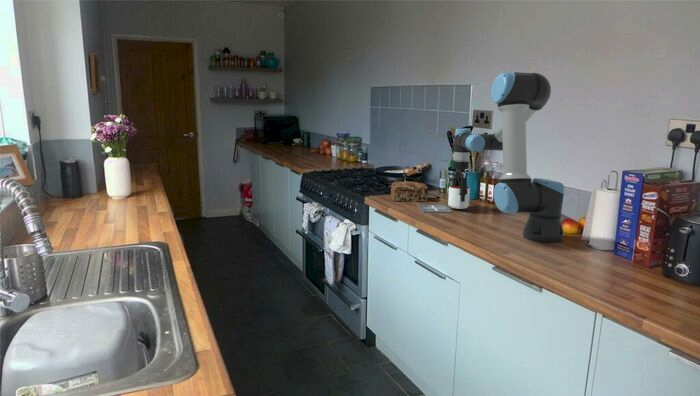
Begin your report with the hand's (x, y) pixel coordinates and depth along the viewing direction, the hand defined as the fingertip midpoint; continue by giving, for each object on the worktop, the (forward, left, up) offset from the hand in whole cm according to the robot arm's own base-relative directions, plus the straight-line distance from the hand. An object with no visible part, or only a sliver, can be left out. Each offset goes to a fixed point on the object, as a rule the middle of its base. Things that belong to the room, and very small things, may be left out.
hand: (458, 205), depth 231 cm
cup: (0, 0, -1) cm, 1 cm away
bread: (+21, +21, -2) cm, 30 cm away
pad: (-1, +12, -2) cm, 12 cm away
